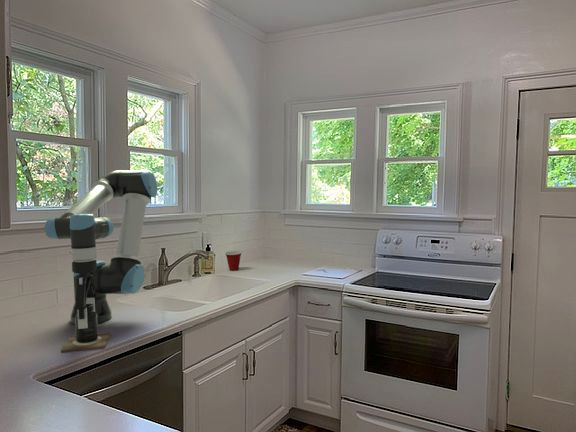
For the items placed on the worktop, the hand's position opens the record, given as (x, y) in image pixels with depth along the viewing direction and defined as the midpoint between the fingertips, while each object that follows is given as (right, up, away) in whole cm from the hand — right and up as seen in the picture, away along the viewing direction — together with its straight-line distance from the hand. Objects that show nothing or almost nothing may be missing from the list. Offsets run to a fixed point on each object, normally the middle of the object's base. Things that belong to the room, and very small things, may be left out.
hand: (87, 322), depth 148 cm
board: (0, -7, 0) cm, 7 cm away
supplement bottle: (0, -6, 0) cm, 6 cm away
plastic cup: (+33, +1, +135) cm, 139 cm away
